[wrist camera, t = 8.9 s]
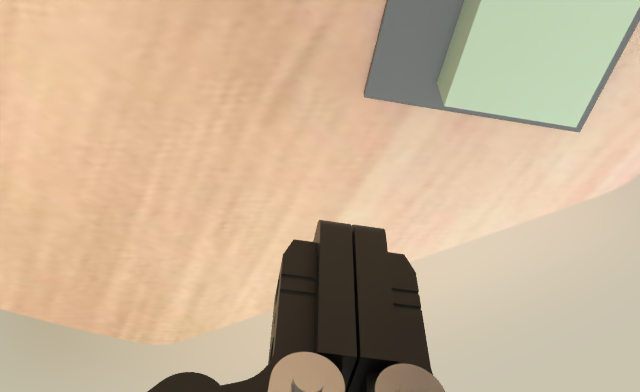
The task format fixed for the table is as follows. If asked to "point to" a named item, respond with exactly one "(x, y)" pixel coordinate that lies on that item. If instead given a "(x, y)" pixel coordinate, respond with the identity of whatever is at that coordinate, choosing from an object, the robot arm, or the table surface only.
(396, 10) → the mat
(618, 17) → the block
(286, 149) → the table surface
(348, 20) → the table surface
